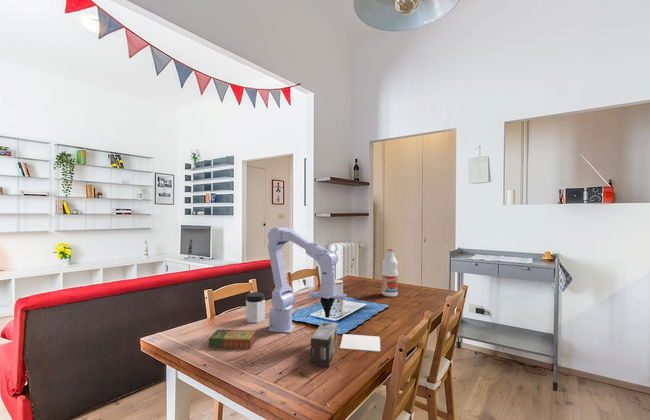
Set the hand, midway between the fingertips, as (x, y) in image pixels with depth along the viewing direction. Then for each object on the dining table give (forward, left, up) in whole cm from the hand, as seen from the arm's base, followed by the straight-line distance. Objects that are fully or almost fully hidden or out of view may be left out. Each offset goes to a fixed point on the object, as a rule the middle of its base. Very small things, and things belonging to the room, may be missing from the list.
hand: (327, 316), depth 125 cm
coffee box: (+2, -4, -5) cm, 7 cm away
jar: (-36, +16, -10) cm, 41 cm away
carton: (-35, -9, -10) cm, 38 cm away
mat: (+13, 0, -9) cm, 16 cm away
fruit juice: (+28, +71, -10) cm, 77 cm away
